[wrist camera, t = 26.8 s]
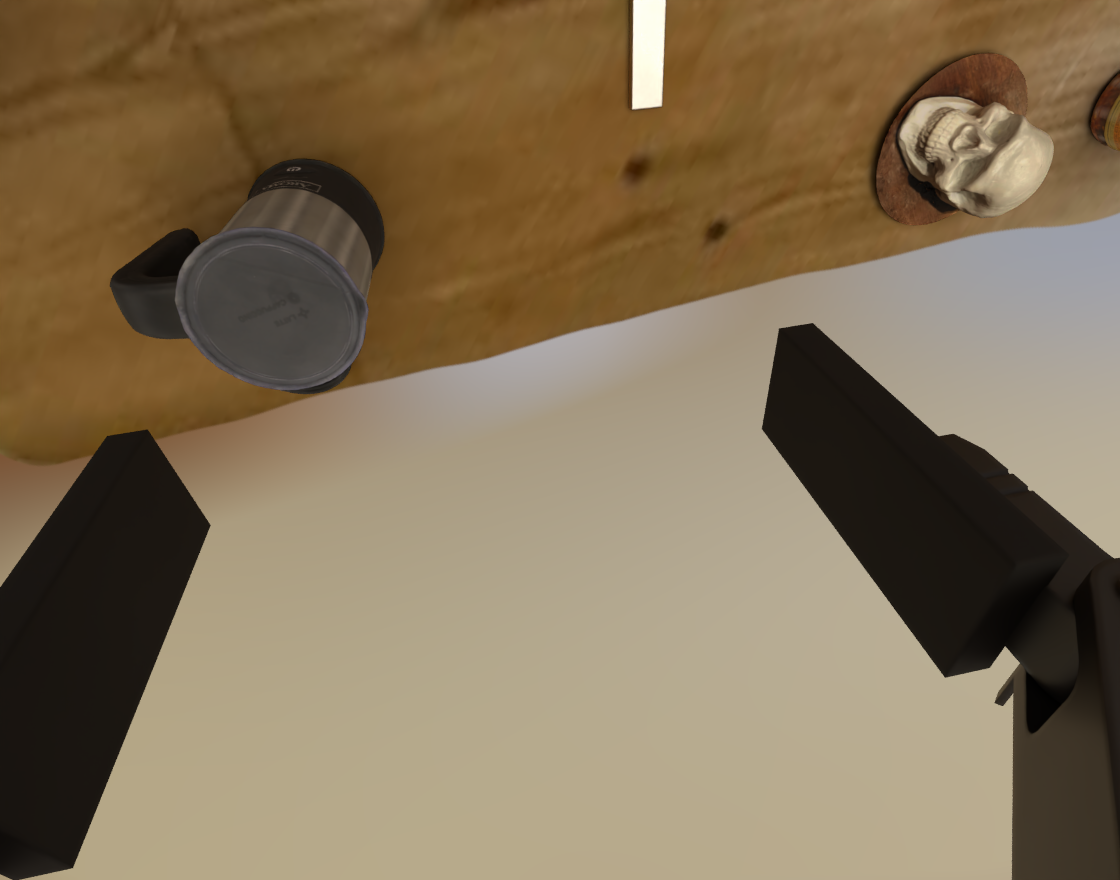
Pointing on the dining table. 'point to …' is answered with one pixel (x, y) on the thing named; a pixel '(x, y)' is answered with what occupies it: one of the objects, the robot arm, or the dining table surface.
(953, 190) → the skull
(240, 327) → the milk frother
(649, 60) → the fork
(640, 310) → the dining table surface
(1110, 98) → the sauce bottle
